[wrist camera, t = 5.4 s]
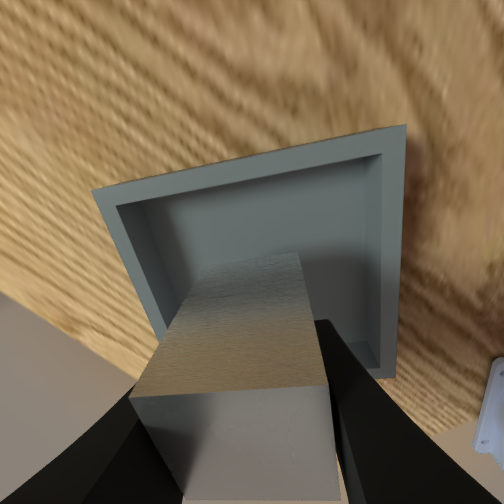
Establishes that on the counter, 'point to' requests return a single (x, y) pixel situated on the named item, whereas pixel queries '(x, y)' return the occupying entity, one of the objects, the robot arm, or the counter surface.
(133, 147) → the counter surface
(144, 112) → the counter surface
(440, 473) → the robot arm
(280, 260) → the aluminium block
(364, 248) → the tray
